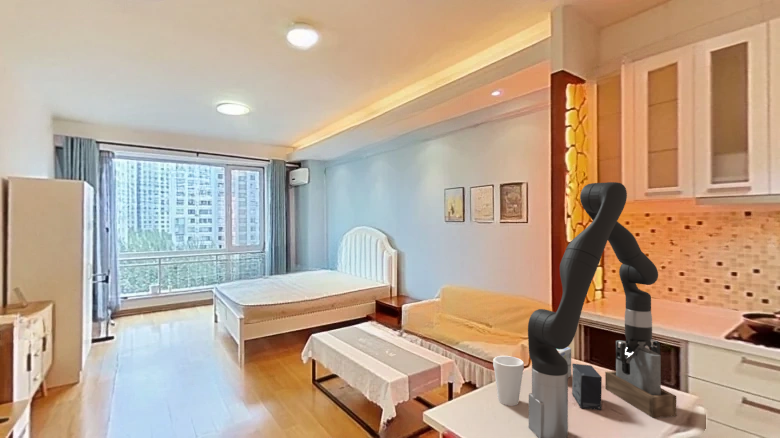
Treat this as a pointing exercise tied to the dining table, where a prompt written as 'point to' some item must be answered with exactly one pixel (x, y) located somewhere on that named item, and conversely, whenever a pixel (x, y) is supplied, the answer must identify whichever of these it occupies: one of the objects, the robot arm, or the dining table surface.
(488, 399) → the dining table surface
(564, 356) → the light bulb box
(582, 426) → the dining table surface
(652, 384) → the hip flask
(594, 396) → the small box
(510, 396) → the foam cup
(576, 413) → the dining table surface
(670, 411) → the wooden open tray
